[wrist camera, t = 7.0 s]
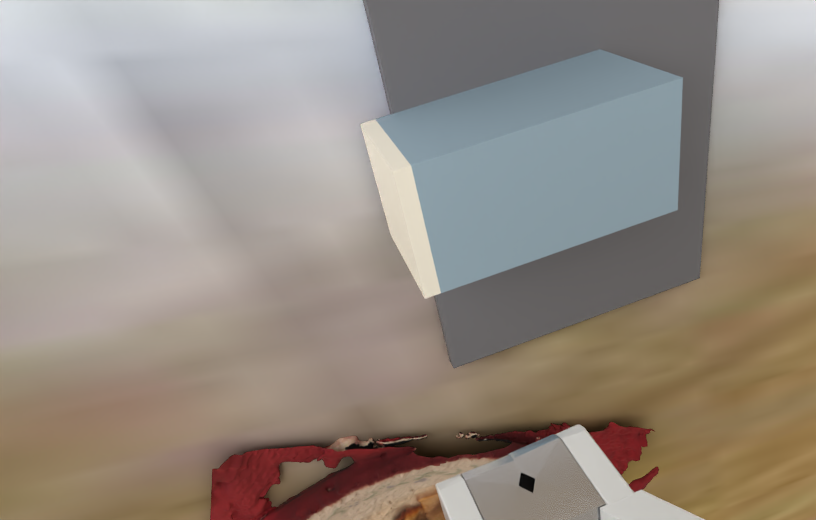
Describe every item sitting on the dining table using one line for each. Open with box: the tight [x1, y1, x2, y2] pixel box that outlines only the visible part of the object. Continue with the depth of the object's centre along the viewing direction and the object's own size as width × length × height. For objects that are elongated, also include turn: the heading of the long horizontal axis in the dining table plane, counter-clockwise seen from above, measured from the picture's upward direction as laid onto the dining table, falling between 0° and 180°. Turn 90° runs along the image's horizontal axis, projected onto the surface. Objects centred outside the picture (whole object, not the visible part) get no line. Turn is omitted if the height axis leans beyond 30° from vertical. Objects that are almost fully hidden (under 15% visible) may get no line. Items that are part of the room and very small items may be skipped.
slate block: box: [360, 49, 683, 299], centre depth 22 cm, size 5×5×10 cm
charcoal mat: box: [363, 0, 719, 368], centre depth 25 cm, size 14×22×1 cm, turn 13°
